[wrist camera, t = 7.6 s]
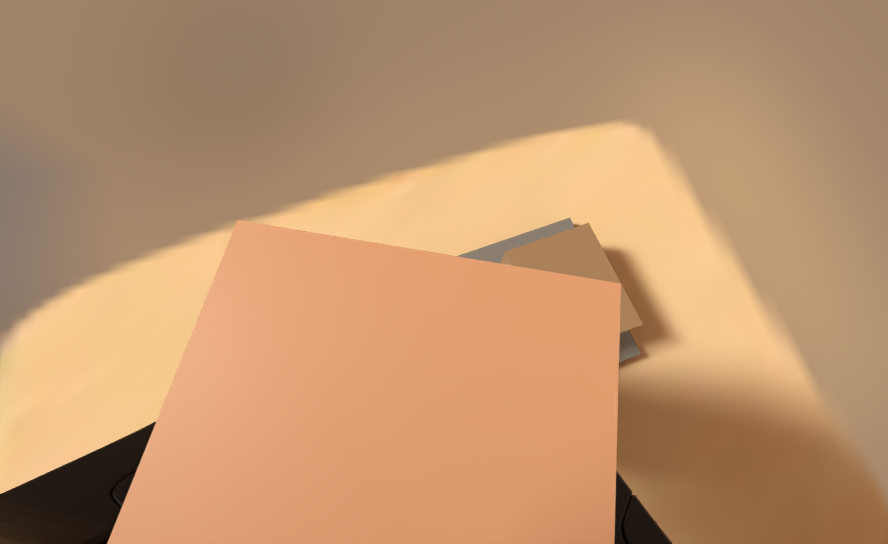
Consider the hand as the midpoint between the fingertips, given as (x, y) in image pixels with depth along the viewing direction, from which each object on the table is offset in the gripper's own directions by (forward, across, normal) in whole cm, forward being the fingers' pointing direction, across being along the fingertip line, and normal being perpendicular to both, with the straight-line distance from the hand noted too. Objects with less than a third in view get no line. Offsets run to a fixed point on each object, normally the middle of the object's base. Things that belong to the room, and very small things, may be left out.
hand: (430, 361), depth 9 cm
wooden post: (+4, 0, +6) cm, 7 cm away
